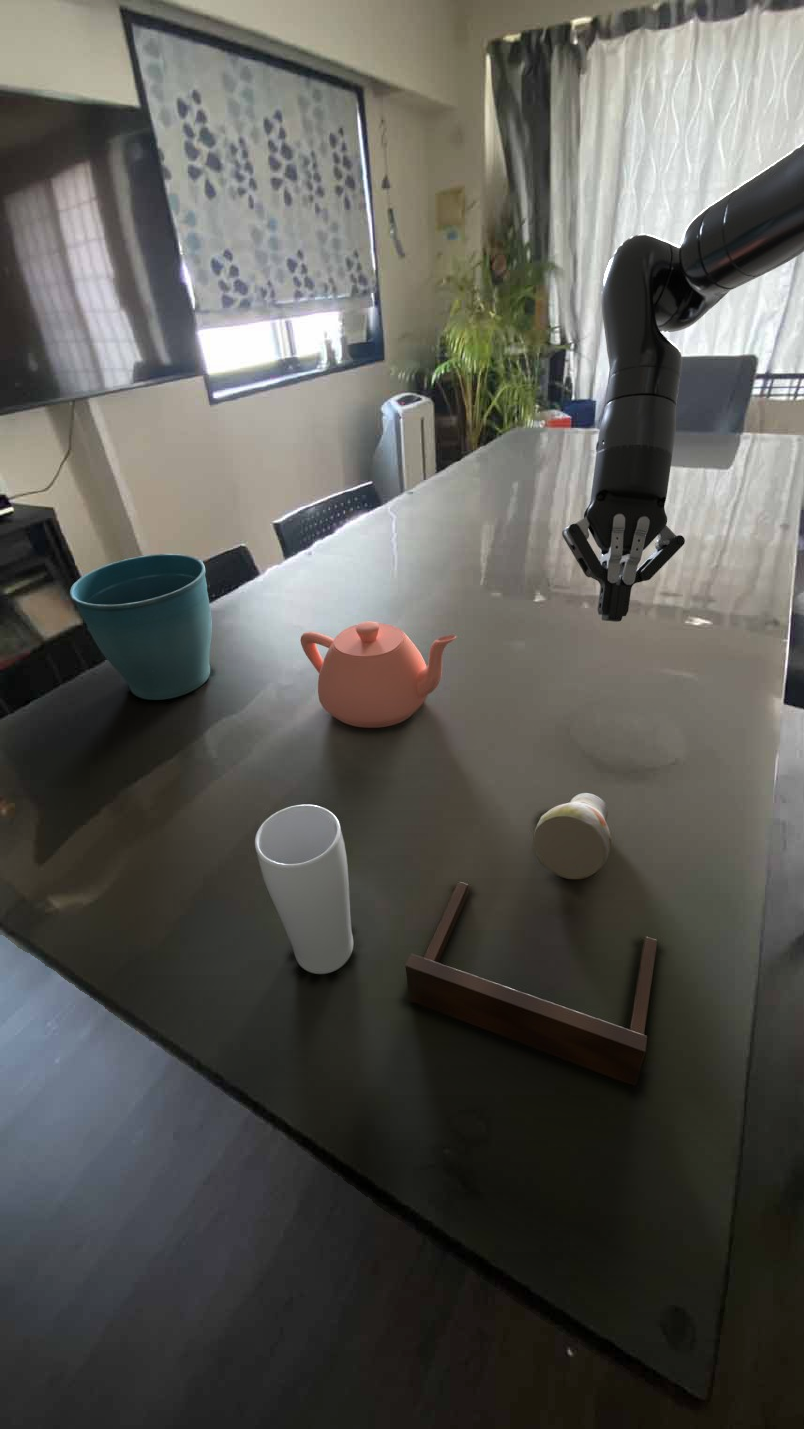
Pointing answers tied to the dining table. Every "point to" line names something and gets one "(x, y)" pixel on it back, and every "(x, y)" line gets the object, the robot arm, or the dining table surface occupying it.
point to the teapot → (373, 673)
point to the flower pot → (150, 621)
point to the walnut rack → (531, 1008)
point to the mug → (574, 837)
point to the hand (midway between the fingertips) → (611, 620)
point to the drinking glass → (308, 884)
